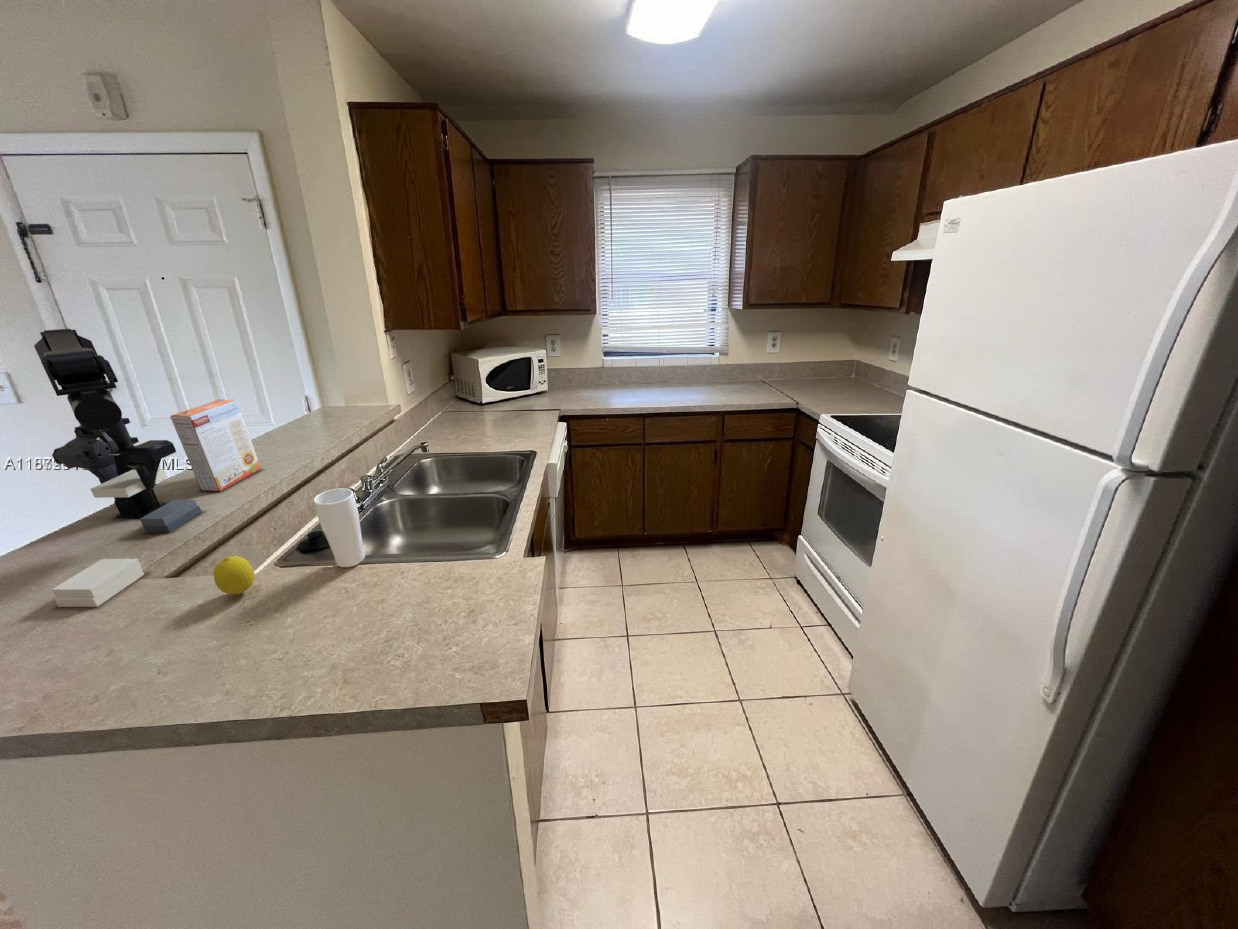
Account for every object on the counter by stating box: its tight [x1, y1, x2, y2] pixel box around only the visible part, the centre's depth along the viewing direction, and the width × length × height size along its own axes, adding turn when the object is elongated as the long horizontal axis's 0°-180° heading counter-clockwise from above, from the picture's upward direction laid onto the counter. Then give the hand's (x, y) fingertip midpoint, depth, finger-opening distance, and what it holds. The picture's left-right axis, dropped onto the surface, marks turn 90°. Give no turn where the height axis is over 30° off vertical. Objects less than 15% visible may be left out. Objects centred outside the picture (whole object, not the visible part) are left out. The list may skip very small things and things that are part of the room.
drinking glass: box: [313, 487, 366, 568], centre depth 93 cm, size 7×7×15 cm
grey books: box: [139, 499, 202, 534], centre depth 108 cm, size 9×5×4 cm, turn 1°
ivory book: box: [90, 468, 168, 499], centre depth 96 cm, size 9×7×2 cm
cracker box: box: [169, 398, 262, 492], centre depth 125 cm, size 14×6×21 cm, turn 174°
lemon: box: [213, 555, 255, 595], centre depth 85 cm, size 6×6×8 cm
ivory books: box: [51, 558, 145, 608], centre depth 86 cm, size 9×7×4 cm
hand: (133, 490), depth 97 cm, fingers closed on ivory book, 6 cm apart
